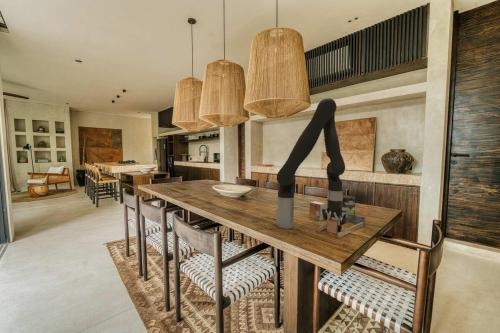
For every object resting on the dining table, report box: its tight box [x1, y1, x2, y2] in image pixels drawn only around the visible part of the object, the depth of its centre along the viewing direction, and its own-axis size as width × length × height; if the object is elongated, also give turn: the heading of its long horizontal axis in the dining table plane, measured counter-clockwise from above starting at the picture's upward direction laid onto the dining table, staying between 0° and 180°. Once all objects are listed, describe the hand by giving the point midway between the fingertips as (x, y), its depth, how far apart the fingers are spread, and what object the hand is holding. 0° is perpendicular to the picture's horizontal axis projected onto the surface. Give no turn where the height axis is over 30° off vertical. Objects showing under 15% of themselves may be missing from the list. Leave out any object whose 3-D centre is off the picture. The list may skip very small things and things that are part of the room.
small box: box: [308, 200, 326, 221], centre depth 136 cm, size 8×6×10 cm
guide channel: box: [317, 213, 366, 239], centre depth 119 cm, size 12×30×5 cm, turn 129°
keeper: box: [326, 218, 342, 235], centre depth 113 cm, size 5×5×6 cm
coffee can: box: [341, 194, 357, 218], centre depth 138 cm, size 10×10×14 cm
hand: (334, 229), depth 114 cm, fingers closed on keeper, 5 cm apart
